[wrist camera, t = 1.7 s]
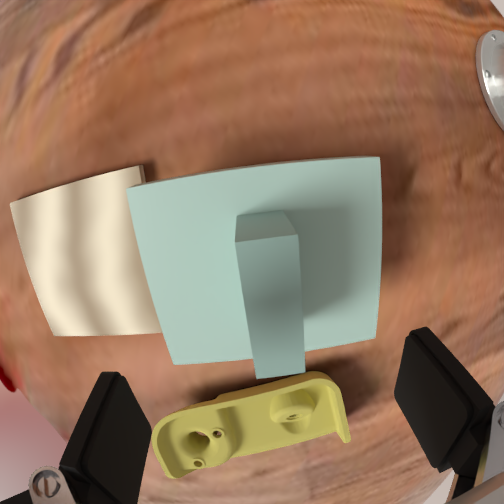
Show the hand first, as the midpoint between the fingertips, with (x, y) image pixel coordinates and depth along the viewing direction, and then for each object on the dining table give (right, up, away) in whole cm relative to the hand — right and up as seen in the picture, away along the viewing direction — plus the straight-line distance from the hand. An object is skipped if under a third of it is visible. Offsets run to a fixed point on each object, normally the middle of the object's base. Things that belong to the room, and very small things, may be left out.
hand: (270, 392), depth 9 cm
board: (-15, +4, +15) cm, 21 cm away
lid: (0, +4, +10) cm, 10 cm away
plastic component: (-1, -13, +21) cm, 25 cm away
